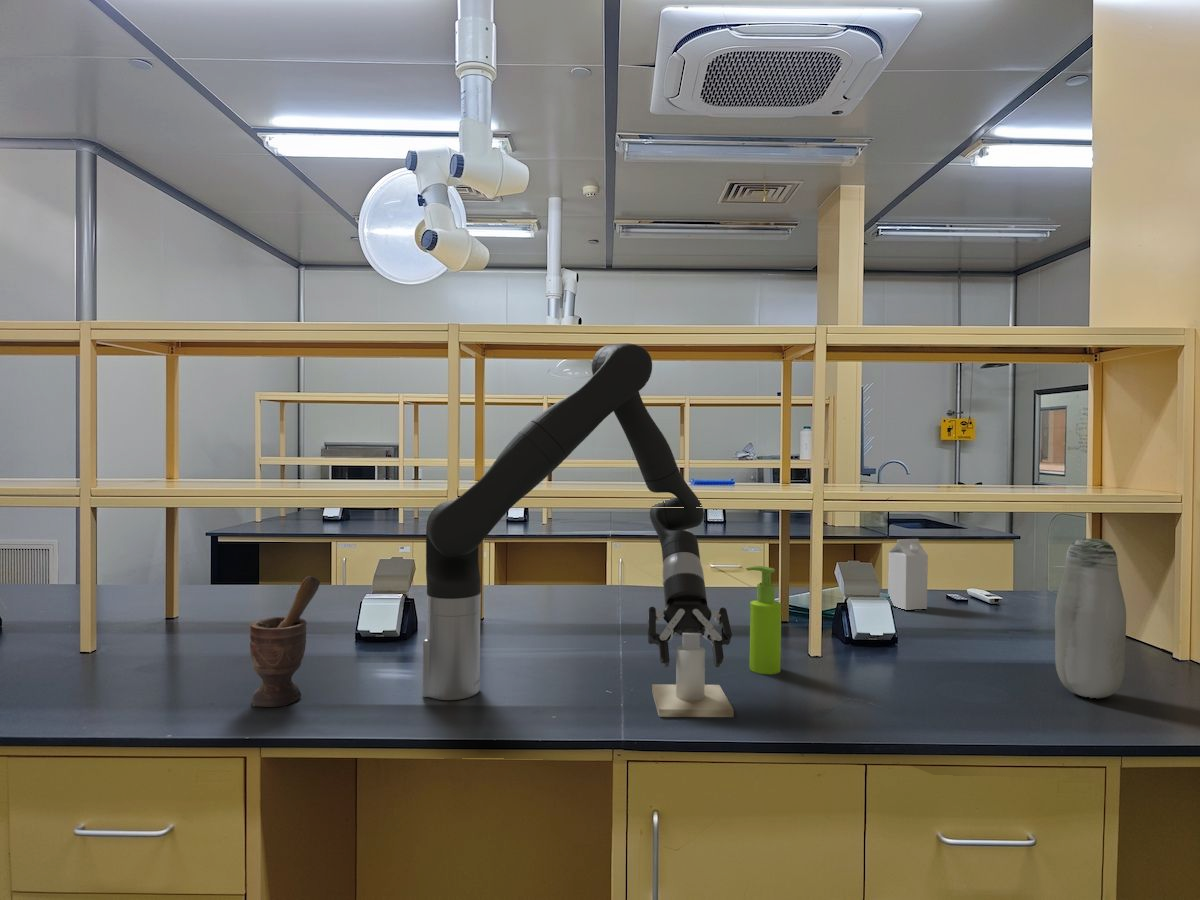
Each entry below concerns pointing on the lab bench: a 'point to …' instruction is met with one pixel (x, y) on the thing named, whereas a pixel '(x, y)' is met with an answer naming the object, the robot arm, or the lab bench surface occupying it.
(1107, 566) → the grey bottle
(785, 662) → the lab bench surface
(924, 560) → the milk carton
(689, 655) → the white bottle
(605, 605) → the lab bench surface
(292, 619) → the mortar and pestle
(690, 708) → the board
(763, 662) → the soap dispenser
